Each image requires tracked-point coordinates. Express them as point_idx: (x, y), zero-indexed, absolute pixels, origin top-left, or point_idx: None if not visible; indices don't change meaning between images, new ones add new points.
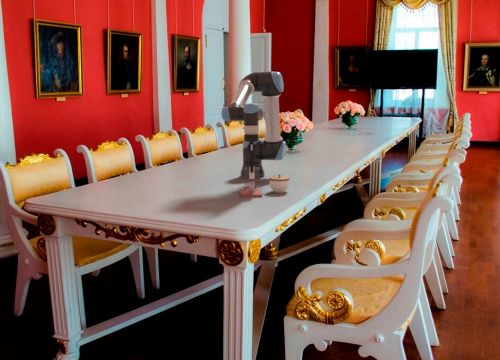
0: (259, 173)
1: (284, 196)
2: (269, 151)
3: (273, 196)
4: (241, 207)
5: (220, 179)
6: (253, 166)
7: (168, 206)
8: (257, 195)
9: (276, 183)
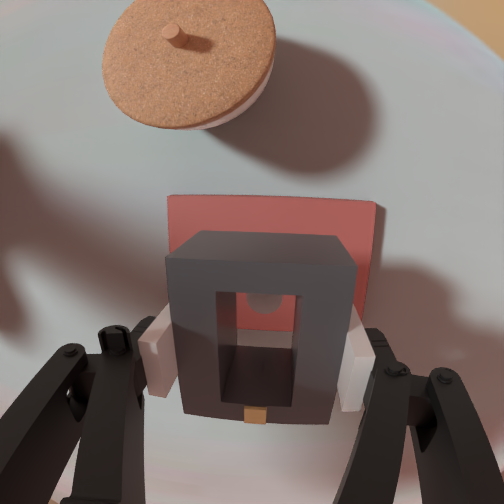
0: (345, 251)
1: (366, 62)
2: None
3: (363, 126)
4: None
5: None
6: (371, 366)
7: (412, 491)
8: (372, 232)
9: (269, 76)
